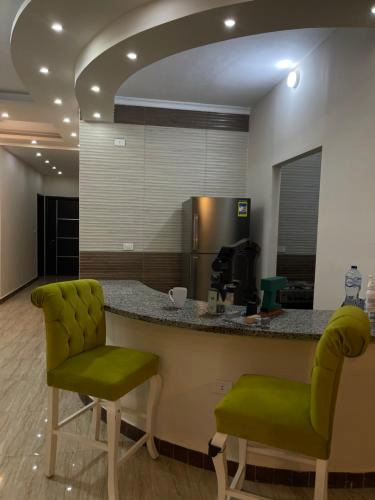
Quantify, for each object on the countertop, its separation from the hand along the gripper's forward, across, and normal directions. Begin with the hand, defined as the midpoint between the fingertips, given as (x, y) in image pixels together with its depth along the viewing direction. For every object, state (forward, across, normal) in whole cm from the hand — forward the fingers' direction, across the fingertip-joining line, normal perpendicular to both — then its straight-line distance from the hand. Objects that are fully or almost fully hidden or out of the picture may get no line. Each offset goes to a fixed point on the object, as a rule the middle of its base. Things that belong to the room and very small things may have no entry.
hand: (226, 301), depth 186 cm
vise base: (+11, -10, +4) cm, 16 cm away
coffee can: (+11, -14, -18) cm, 26 cm away
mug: (+11, -6, -43) cm, 45 cm away
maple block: (+2, 0, 0) cm, 2 cm away
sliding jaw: (+10, -10, +14) cm, 20 cm away
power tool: (+11, -49, -1) cm, 50 cm away
